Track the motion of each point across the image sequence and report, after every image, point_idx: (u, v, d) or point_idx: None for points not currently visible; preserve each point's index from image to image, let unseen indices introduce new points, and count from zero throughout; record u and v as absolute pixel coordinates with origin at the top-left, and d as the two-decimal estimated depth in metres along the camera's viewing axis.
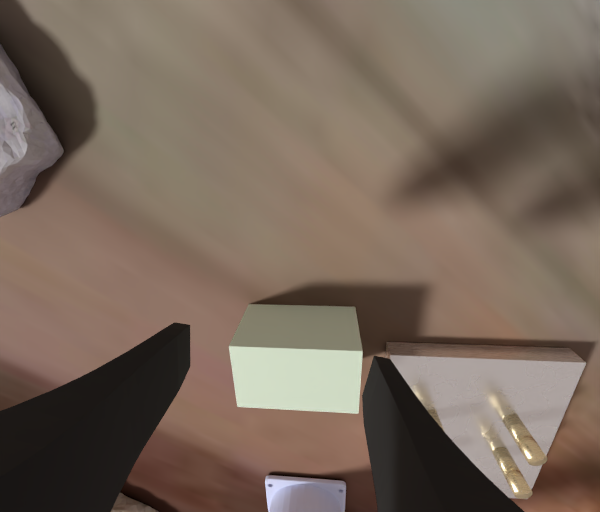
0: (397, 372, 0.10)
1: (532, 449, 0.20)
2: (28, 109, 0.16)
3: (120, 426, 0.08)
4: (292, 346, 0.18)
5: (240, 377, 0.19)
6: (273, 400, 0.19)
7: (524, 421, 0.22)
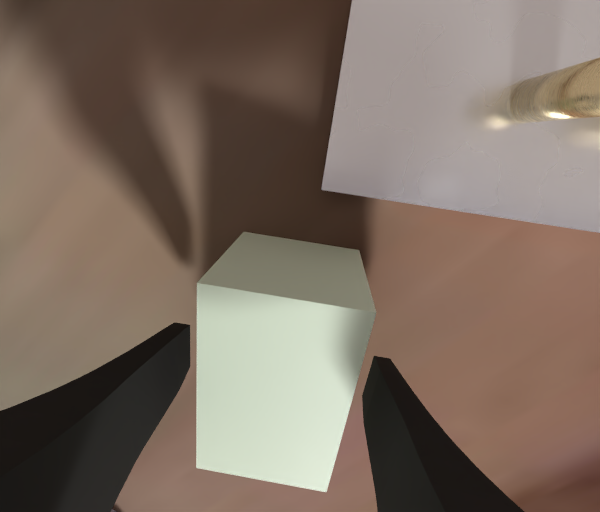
0: (397, 372, 0.10)
1: None
2: None
3: (120, 426, 0.08)
4: (198, 389, 0.10)
5: (260, 471, 0.11)
6: (318, 443, 0.10)
7: None
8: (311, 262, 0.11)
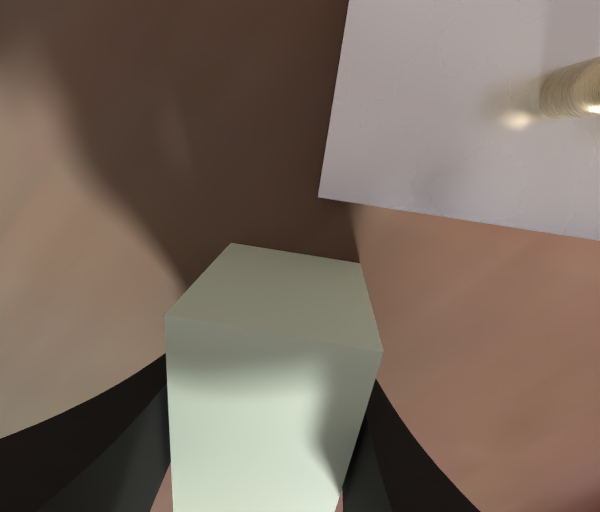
0: None
1: None
2: None
3: (157, 433, 0.08)
4: (172, 434, 0.08)
5: None
6: (313, 495, 0.09)
7: None
8: (305, 281, 0.09)
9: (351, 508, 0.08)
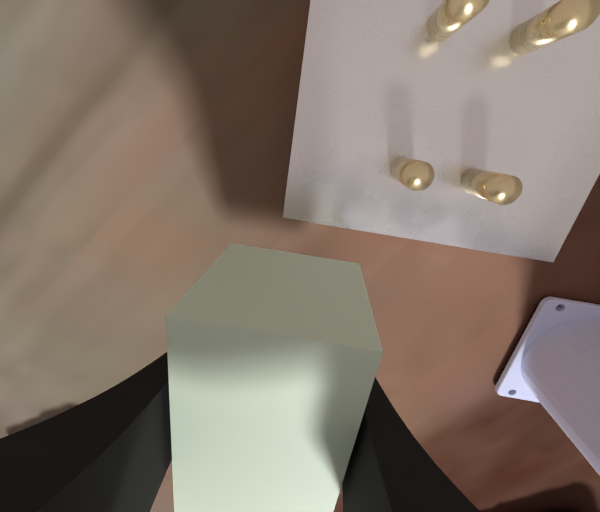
0: None
1: (450, 4, 0.10)
2: None
3: (157, 433, 0.08)
4: (173, 433, 0.08)
5: None
6: (313, 493, 0.09)
7: None
8: (305, 282, 0.09)
9: (351, 508, 0.08)
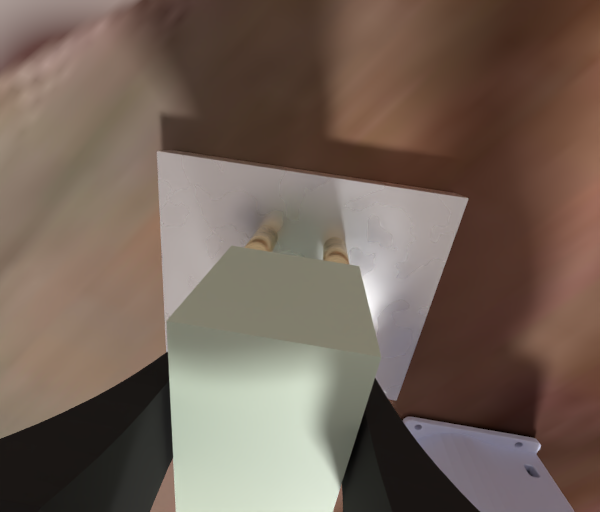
0: None
1: None
2: None
3: (157, 433, 0.08)
4: (174, 435, 0.09)
5: None
6: (313, 494, 0.09)
7: (269, 219, 0.15)
8: (305, 285, 0.09)
9: (351, 508, 0.08)
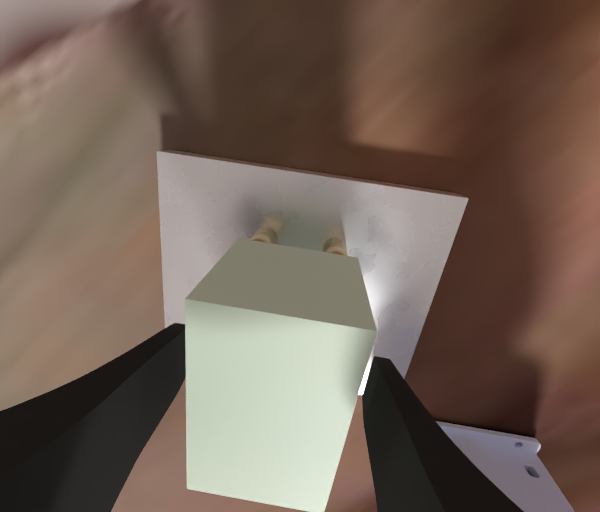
0: (396, 372, 0.10)
1: None
2: None
3: (120, 426, 0.08)
4: (188, 408, 0.09)
5: (254, 493, 0.10)
6: (314, 465, 0.10)
7: (269, 219, 0.15)
8: (308, 273, 0.10)
9: None
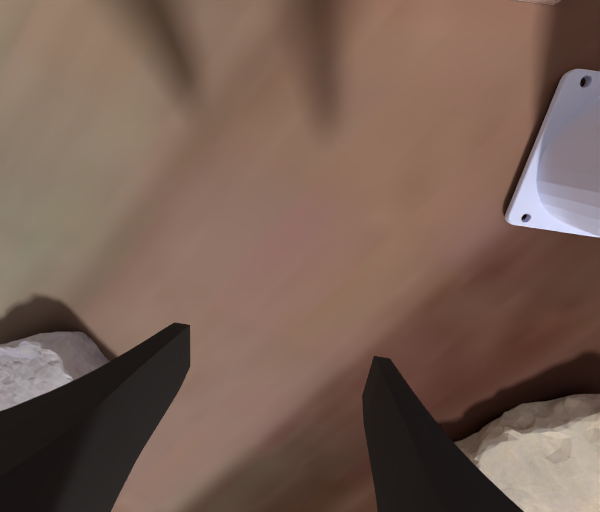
0: (397, 372, 0.10)
1: None
2: (29, 339, 0.22)
3: (120, 426, 0.08)
4: None
5: None
6: None
7: None
8: None
9: None
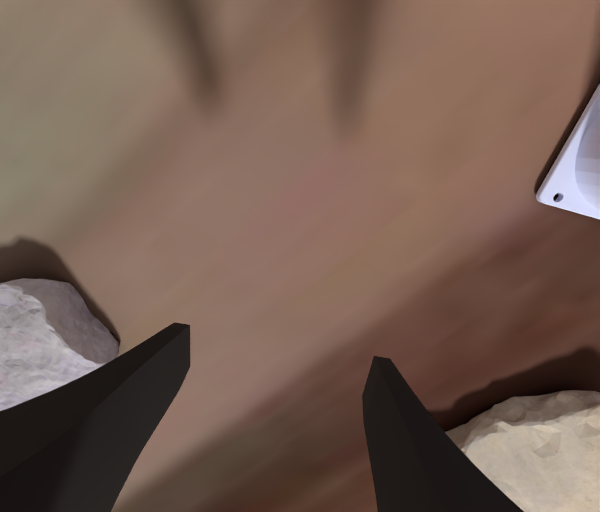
0: (397, 372, 0.10)
1: None
2: (10, 282, 0.20)
3: (120, 426, 0.08)
4: None
5: None
6: None
7: None
8: None
9: None
